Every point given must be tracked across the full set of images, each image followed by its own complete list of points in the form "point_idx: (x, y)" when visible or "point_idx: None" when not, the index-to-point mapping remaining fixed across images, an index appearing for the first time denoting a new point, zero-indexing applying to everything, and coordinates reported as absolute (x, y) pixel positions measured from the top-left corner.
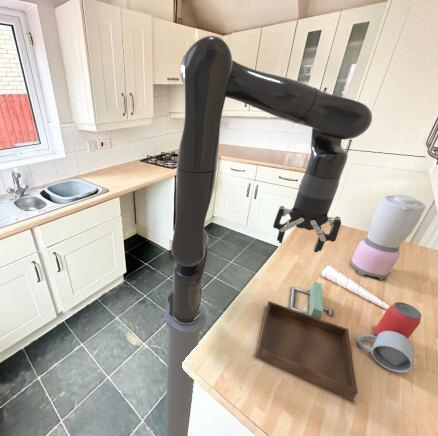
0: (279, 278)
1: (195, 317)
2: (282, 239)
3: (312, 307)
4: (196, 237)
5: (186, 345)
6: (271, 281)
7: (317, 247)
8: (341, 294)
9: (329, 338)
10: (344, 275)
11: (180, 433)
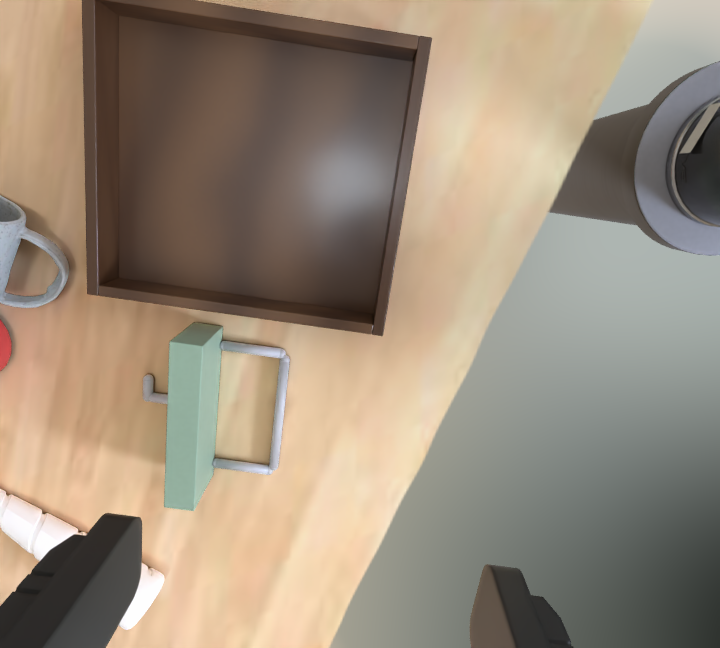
0: (324, 510)
1: (711, 115)
2: (509, 613)
3: (208, 364)
4: None
5: (641, 107)
6: (356, 482)
7: (83, 565)
8: (103, 497)
9: (159, 250)
10: None
11: None
